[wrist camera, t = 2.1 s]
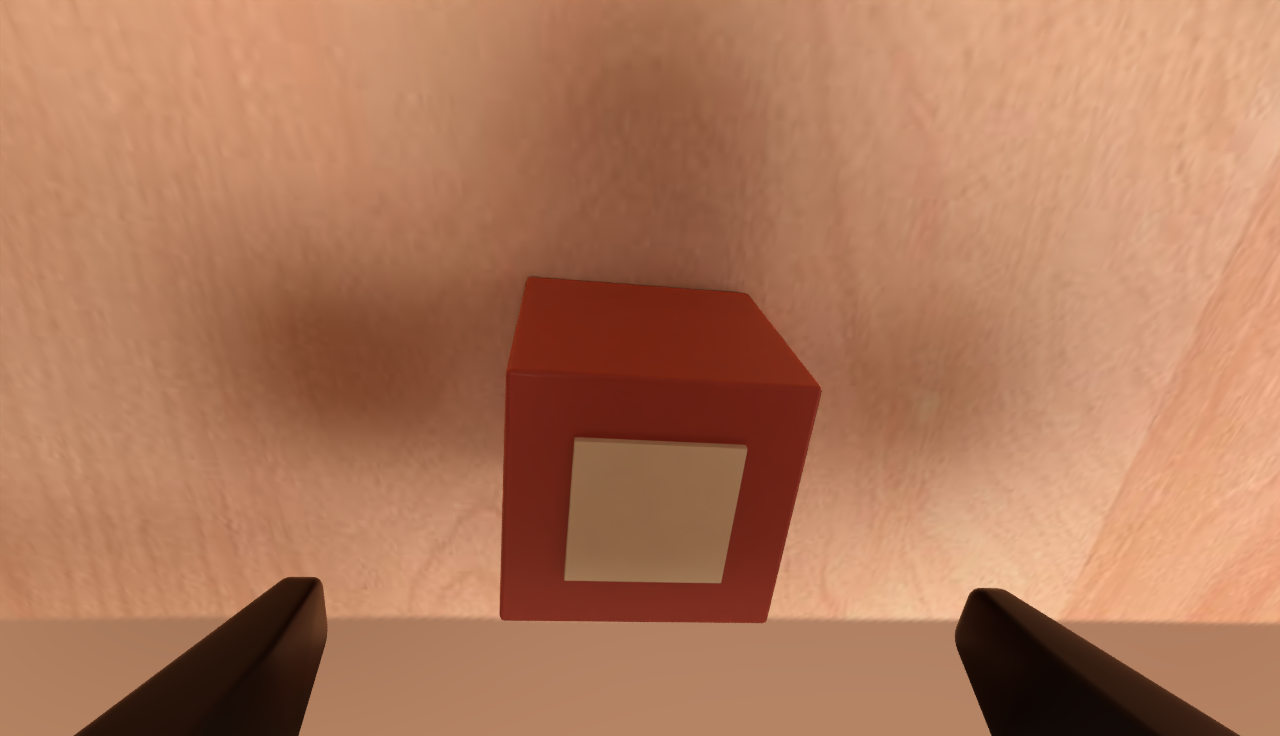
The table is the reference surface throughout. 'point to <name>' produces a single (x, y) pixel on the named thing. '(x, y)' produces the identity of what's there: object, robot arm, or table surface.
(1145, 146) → the table surface
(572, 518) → the red cube
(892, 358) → the table surface
